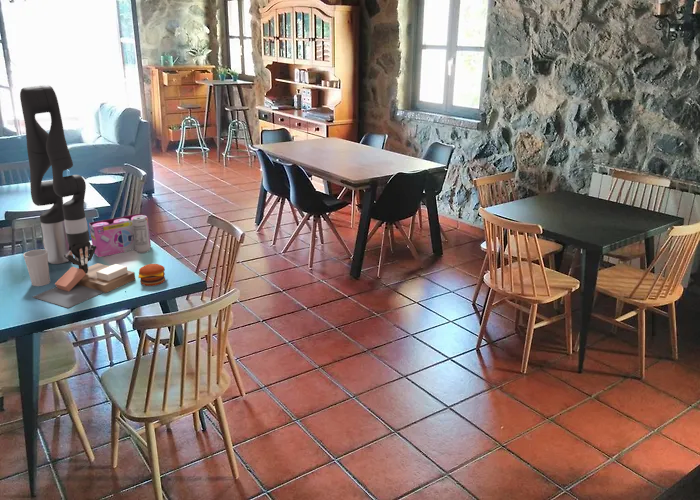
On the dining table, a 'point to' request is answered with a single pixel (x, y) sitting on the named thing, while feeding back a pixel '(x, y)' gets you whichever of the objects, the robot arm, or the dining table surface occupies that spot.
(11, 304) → the dining table surface
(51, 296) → the slate mat
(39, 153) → the robot arm
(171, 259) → the dining table surface
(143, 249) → the energy drink can
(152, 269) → the hamburger
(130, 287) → the dining table surface
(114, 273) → the cream card box
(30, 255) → the cup
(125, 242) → the gum box
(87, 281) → the walnut board
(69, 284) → the terracotta card box
